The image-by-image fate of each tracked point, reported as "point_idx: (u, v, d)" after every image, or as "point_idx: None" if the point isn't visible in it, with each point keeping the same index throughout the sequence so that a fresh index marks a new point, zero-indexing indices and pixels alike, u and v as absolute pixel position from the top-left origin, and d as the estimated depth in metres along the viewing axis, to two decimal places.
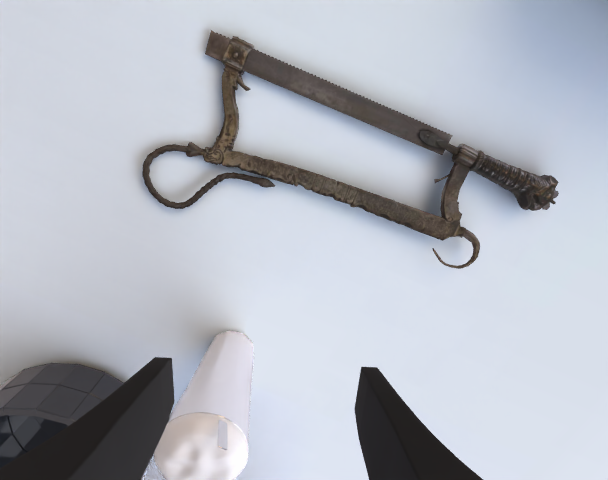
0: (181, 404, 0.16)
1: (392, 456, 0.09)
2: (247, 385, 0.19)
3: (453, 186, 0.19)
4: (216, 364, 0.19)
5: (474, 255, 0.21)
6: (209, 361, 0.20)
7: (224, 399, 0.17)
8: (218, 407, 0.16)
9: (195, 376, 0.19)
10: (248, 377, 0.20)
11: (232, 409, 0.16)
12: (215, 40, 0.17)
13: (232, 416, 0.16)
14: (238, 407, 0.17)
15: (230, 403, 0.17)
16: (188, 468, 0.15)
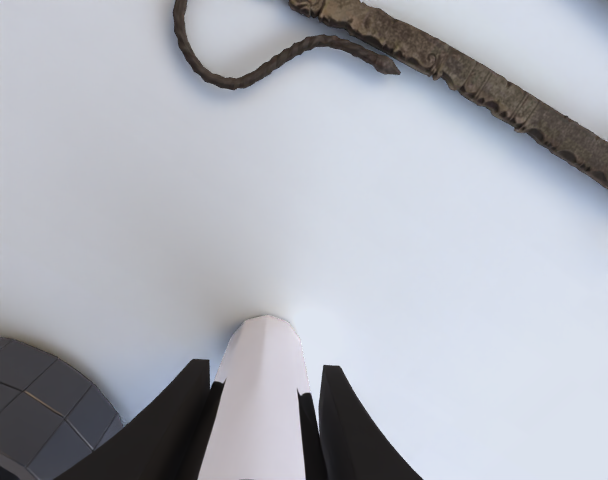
0: (209, 453, 0.08)
1: (340, 454, 0.09)
2: (314, 413, 0.11)
3: None
4: (263, 371, 0.11)
5: None
6: (246, 363, 0.11)
7: (297, 448, 0.08)
8: (292, 468, 0.07)
9: (225, 390, 0.10)
10: (311, 397, 0.11)
11: (315, 471, 0.08)
12: None
13: None
14: (320, 464, 0.08)
15: (308, 457, 0.08)
16: None
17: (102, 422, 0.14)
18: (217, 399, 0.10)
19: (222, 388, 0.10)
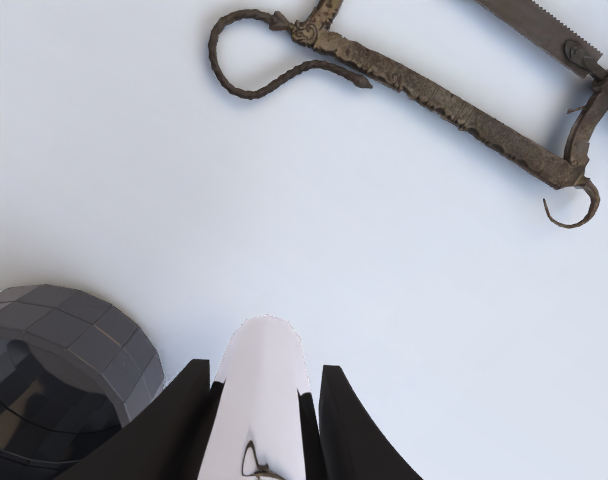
0: (209, 452, 0.08)
1: (340, 454, 0.09)
2: (314, 413, 0.11)
3: (590, 121, 0.16)
4: (263, 370, 0.11)
5: (590, 214, 0.17)
6: (247, 363, 0.11)
7: (297, 447, 0.08)
8: (292, 467, 0.08)
9: (225, 389, 0.10)
10: (311, 397, 0.11)
11: (315, 470, 0.08)
12: None
13: None
14: (320, 463, 0.08)
15: (308, 456, 0.08)
16: None
17: (146, 355, 0.19)
18: (217, 398, 0.10)
19: (222, 387, 0.10)
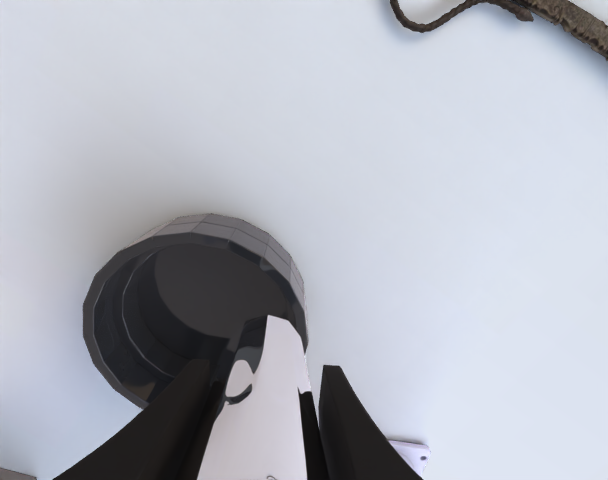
0: (210, 451, 0.08)
1: (340, 454, 0.09)
2: (315, 412, 0.11)
3: None
4: (263, 370, 0.11)
5: None
6: (247, 362, 0.11)
7: (298, 446, 0.08)
8: (293, 467, 0.07)
9: (226, 389, 0.10)
10: (311, 396, 0.11)
11: (315, 470, 0.08)
12: None
13: None
14: (320, 463, 0.08)
15: (309, 455, 0.08)
16: None
17: (300, 280, 0.20)
18: (218, 398, 0.10)
19: (223, 387, 0.10)
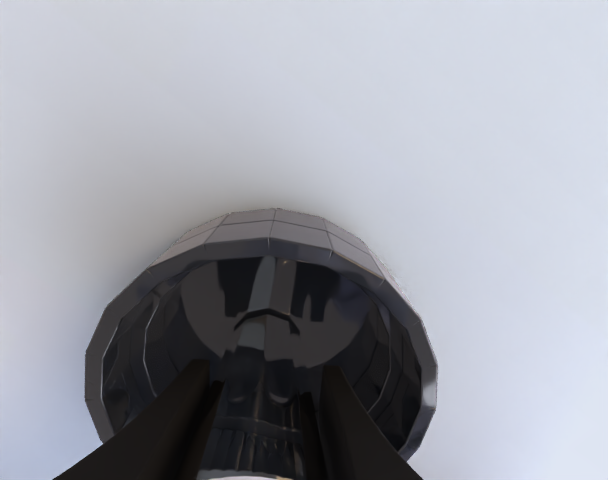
0: (209, 451, 0.08)
1: (340, 454, 0.09)
2: (314, 412, 0.11)
3: None
4: (263, 370, 0.11)
5: None
6: (246, 362, 0.11)
7: (297, 446, 0.08)
8: (292, 467, 0.07)
9: (225, 389, 0.10)
10: (311, 396, 0.11)
11: (315, 470, 0.08)
12: None
13: None
14: (320, 463, 0.08)
15: (309, 456, 0.08)
16: None
17: None
18: (217, 398, 0.10)
19: (222, 387, 0.10)
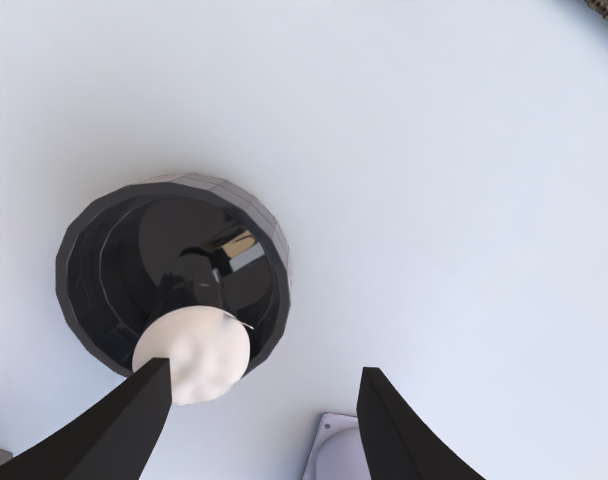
0: (166, 305, 0.13)
1: (394, 456, 0.09)
2: (229, 298, 0.17)
3: None
4: (193, 274, 0.16)
5: None
6: (181, 274, 0.17)
7: (219, 299, 0.14)
8: (217, 304, 0.14)
9: (169, 286, 0.15)
10: (227, 292, 0.17)
11: (230, 308, 0.14)
12: None
13: (233, 313, 0.14)
14: (233, 309, 0.15)
15: (226, 303, 0.14)
16: (186, 370, 0.12)
17: (285, 245, 0.20)
18: (164, 291, 0.15)
19: (166, 286, 0.16)
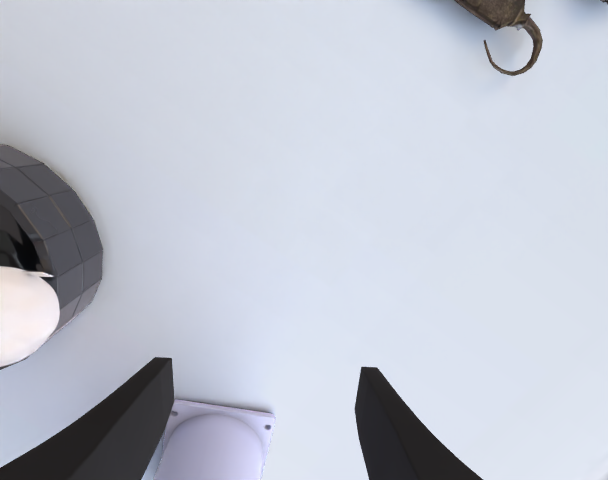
0: None
1: (392, 456, 0.09)
2: (35, 266, 0.16)
3: None
4: None
5: (533, 58, 0.17)
6: None
7: (17, 262, 0.14)
8: (13, 265, 0.14)
9: None
10: (33, 262, 0.17)
11: (32, 270, 0.14)
12: None
13: None
14: None
15: (27, 266, 0.14)
16: None
17: (79, 216, 0.18)
18: None
19: None
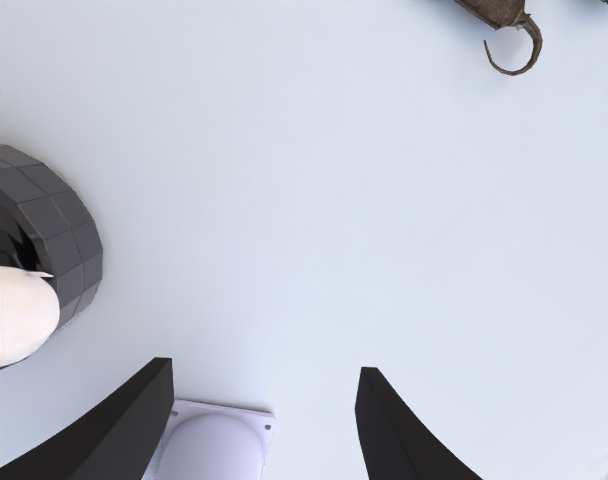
0: None
1: (392, 456, 0.09)
2: (35, 266, 0.16)
3: None
4: None
5: (533, 58, 0.17)
6: None
7: (17, 262, 0.14)
8: (13, 265, 0.14)
9: None
10: (33, 262, 0.17)
11: (32, 270, 0.14)
12: None
13: None
14: None
15: (27, 266, 0.14)
16: None
17: (79, 216, 0.18)
18: None
19: None
